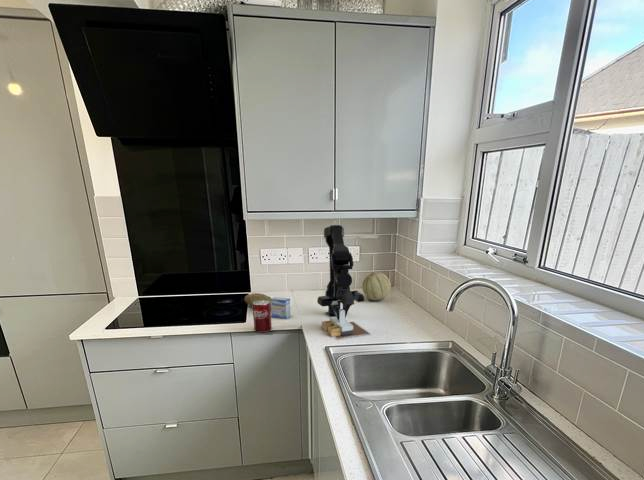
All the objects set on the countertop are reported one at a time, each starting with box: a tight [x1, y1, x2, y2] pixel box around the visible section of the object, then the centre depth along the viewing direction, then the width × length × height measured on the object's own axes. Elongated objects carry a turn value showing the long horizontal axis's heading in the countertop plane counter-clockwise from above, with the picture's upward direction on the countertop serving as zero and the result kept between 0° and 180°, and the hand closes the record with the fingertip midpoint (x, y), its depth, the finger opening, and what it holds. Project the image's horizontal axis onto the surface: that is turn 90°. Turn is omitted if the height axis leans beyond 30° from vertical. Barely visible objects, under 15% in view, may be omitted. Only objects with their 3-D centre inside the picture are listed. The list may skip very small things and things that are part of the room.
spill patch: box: [335, 321, 370, 339], centre depth 171 cm, size 16×14×1 cm
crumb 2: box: [327, 326, 341, 338], centre depth 164 cm, size 4×4×3 cm
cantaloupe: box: [361, 271, 392, 302], centre depth 211 cm, size 15×15×15 cm
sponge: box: [244, 292, 273, 309], centre depth 200 cm, size 13×8×20 cm
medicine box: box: [271, 296, 291, 319], centre depth 187 cm, size 8×4×9 cm, turn 71°
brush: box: [329, 308, 353, 335], centre depth 168 cm, size 13×5×8 cm, turn 23°
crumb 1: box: [321, 319, 334, 332], centre depth 171 cm, size 4×4×3 cm
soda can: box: [251, 301, 273, 333], centre depth 169 cm, size 7×7×12 cm
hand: (341, 319), depth 168 cm, fingers closed on brush, 2 cm apart
